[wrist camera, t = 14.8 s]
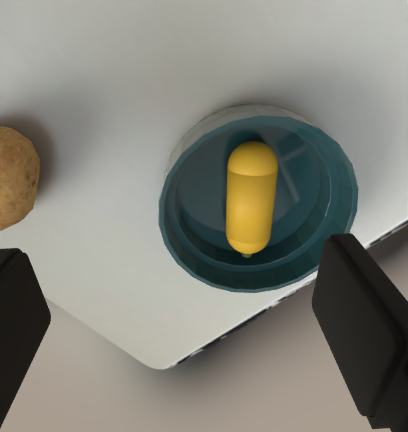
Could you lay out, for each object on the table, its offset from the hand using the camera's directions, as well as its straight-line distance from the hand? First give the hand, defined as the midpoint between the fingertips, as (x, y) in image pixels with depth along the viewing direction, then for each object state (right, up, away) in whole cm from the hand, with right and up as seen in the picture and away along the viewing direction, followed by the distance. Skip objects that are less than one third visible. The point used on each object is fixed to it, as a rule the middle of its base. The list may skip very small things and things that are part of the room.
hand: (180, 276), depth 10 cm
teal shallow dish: (+6, +5, +26) cm, 27 cm away
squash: (+5, +5, +25) cm, 26 cm away
